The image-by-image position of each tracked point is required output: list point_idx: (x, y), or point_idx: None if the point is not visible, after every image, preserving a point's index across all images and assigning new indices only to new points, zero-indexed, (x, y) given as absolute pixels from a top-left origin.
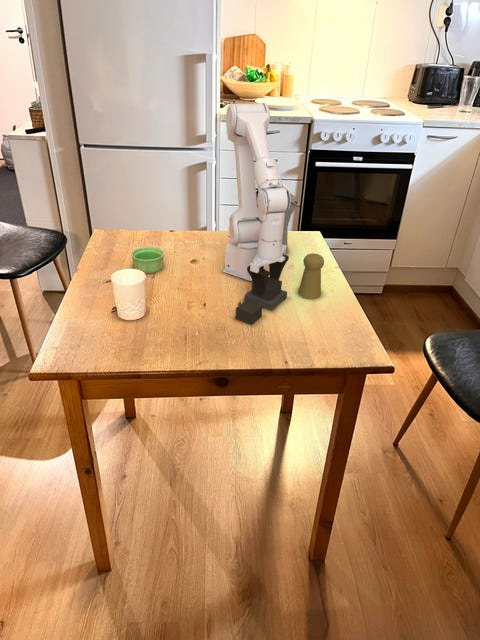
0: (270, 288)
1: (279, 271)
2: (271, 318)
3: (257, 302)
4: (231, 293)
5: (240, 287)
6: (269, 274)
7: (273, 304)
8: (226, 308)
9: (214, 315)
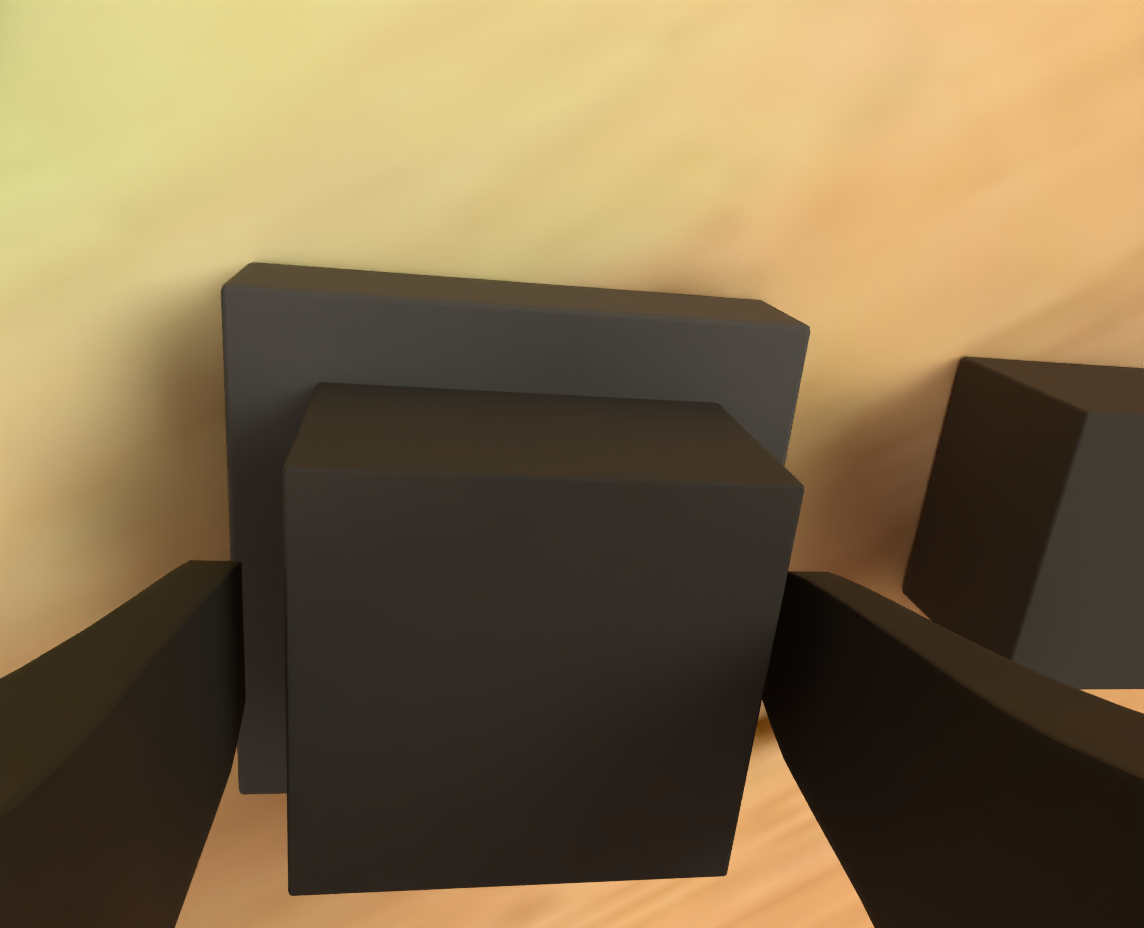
0: (763, 523)
1: (138, 702)
2: (948, 212)
3: None
4: (585, 911)
5: (382, 915)
6: (208, 818)
7: (752, 316)
8: None
9: None
